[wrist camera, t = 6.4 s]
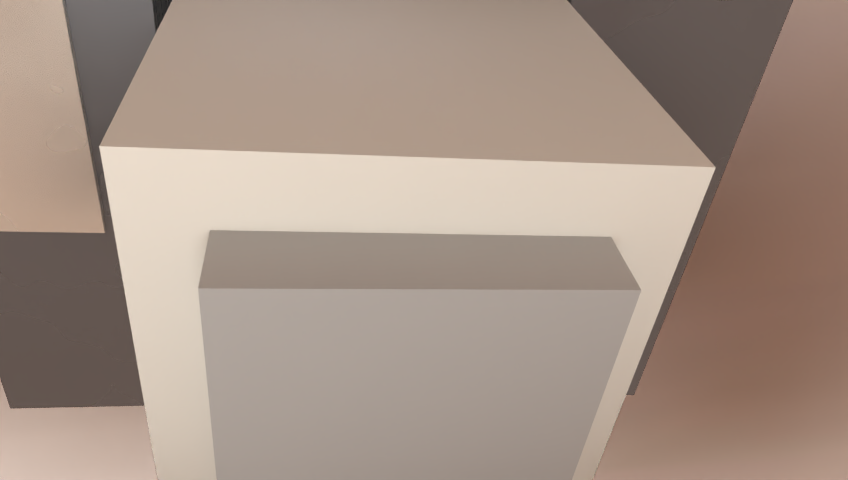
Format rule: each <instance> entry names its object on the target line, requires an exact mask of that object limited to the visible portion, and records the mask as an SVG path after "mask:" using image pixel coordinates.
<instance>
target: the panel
mask: <svg viewBox="0 0 848 480" xmlns="http://www.w3.org/2000/svg"><path fill="white" fill-rule="evenodd" d="M567 1H568V2H569V3H570V4H571V5H572V7H573V8H574V9H575V10H576V11H577V12H578V13H579V14H580V15H581V17H582V18H583V19H584V20H585V21H586V22H587V23H588V24H589V26H590V27H591V28H592V29H593V30H594V31H595V32H596V33H597V35H598V36H599V37H600V38H601V39H602V40H603V41H604V42H605V44H606V45H607V46H608V47H609V48H610V49H611V50H612V51H613V53H614V54H615V55H616V56H617V57H618V58H619V59H620V60H621V61H622V63H623V64H624V65H625V66H626V67H627V68H628V69H629V70H630V72H631V73H632V74H633V75H634V76H635V77H636V78H637V79H638V81H639V82H640V83H641V84H642V85H643V86H644V87H645V88H646V90H647V91H648V92H649V93H650V94H651V95H652V96H653V97H654V99H655V100H656V101H657V102H658V103H659V104H660V105H661V106H662V107H663V109H664V110H665V111H666V112H667V113H668V114H669V115H670V116H671V118H672V119H673V120H674V121H675V122H676V123H677V124H678V125H679V127H680V128H681V129H682V130H683V131H684V132H685V133H686V134H687V136H688V137H689V138H690V139H691V140H692V141H693V142H694V143H695V145H696V146H697V147H698V148H699V149H700V150H701V151H702V152H703V153H704V155H705V156H706V157H707V158H708V159H709V160H710V161H711V162H712V164H713V165H714V166H715V167H716V168H715V171H714V173H713V176H712V178H711V181H710V183H709V186H708V188H707V191H706V193H705V196H704V199H703V201H702V204H701V206H700V209H699V211H698V214H697V216H696V219H695V221H694V224H693V226H692V229H691V231H690V234H689V237H688V239H687V242H686V244H685V247H684V249H683V252H682V254H681V257H680V259H679V262H678V264H677V267H676V270H675V272H674V275H673V277H672V280H671V282H670V285H669V287H668V290H667V292H666V295H665V297H664V300H663V303H662V305H661V308H660V310H659V313H658V315H657V318H656V320H655V323H654V325H653V328H652V330H651V333H650V336H649V338H648V341H647V343H646V346H645V348H644V351H643V353H642V356H641V358H640V361H639V363H638V366H637V368H636V371H635V374H634V376H633V379H632V381H631V384H630V386H629V389H628V391H627V394H626V395H634V393H635V391H636V388H637V386H638V384H639V381H640V379H641V376H642V374H643V371H644V369H645V366H646V364H647V361H648V359H649V356H650V354H651V351H652V349H653V346H654V344H655V341H656V339H657V336H658V334H659V331H660V329H661V326H662V324H663V322H664V319H665V317H666V314H667V312H668V309H669V307H670V304H671V302H672V299H673V297H674V294H675V292H676V289H677V287H678V284H679V282H680V279H681V277H682V274H683V272H684V269H685V267H686V265H687V262H688V260H689V257H690V255H691V252H692V250H693V247H694V245H695V242H696V240H697V237H698V235H699V232H700V230H701V227H702V225H703V222H704V220H705V217H706V215H707V212H708V210H709V207H710V205H711V203H712V200H713V198H714V195H715V193H716V190H717V188H718V185H719V183H720V180H721V178H722V175H723V173H724V170H725V168H726V165H727V163H728V160H729V158H730V155H731V153H732V150H733V148H734V146H735V143H736V141H737V138H738V136H739V133H740V131H741V128H742V126H743V123H744V121H745V118H746V116H747V113H748V111H749V108H750V106H751V103H752V101H753V98H754V96H755V93H756V91H757V88H758V86H759V84H760V81H761V79H762V76H763V74H764V71H765V69H766V66H767V64H768V61H769V59H770V56H771V54H772V51H773V49H774V46H775V44H776V41H777V39H778V36H779V34H780V31H781V29H782V27H783V24H784V22H785V19H786V17H787V14H788V12H789V9H790V7H791V4H792V2H793V0H567ZM171 2H172V0H0V379H1V382H2V385H3V388H4V391H5V394H6V397H7V399H8V402H9V405H10V408H51V407H97V406H143V405H144V400H143V394H142V388H141V383H140V377H139V371H138V366H137V360H136V354H135V348H134V343H133V337H132V331H131V325H130V320H129V314H128V308H127V302H126V297H125V291H124V285H123V280H122V274H121V268H120V262H119V257H118V251H117V245H116V239H115V234H114V228H113V222H112V217H111V211H110V205H109V199H108V194H107V188H106V182H105V176H104V171H103V165H102V159H101V154H100V148H99V146H100V144H101V142H102V140H103V138H104V136H105V134H106V132H107V130H108V128H109V126H110V124H111V122H112V120H113V118H114V116H115V114H116V112H117V110H118V108H119V106H120V104H121V102H122V100H123V98H124V96H125V94H126V92H127V90H128V88H129V86H130V84H131V82H132V80H133V78H134V76H135V74H136V72H137V70H138V68H139V66H140V64H141V62H142V60H143V58H144V56H145V54H146V52H147V50H148V48H149V46H150V44H151V42H152V40H153V38H154V36H155V34H156V32H157V30H158V28H159V26H160V24H161V22H162V20H163V18H164V16H165V14H166V12H167V10H168V8H169V6H170V4H171Z"/></svg>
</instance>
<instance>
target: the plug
mask: <svg viewBox="0 0 848 480" xmlns="http://www.w3.org/2000/svg"><path fill="white" fill-rule="evenodd" d="M99 148H100V154H101V159H102V165H103V171H104V176H105V182H106V188H107V194H108V199H109V205H110V211H111V217H112V222H113V228H114V234H115V239H116V245H117V251H118V257H119V262H120V268H121V274H122V280H123V285H124V291H125V297H126V302H127V308H128V314H129V320H130V325H131V331H132V337H133V343H134V348H135V354H136V360H137V366H138V371H139V377H140V383H141V388H142V394H143V400H144V406H145V411H146V417H147V423H148V429H149V434H150V440H151V446H152V451H153V457H154V463H155V469H156V474H157V480H593V478H594V475H595V473H596V470H597V467H598V465H599V462H600V460H601V457H602V455H603V452H604V450H605V447H606V445H607V442H608V440H609V437H610V434H611V432H612V429H613V427H614V424H615V422H616V419H617V417H618V414H619V412H620V409H621V407H622V404H623V401H624V399H625V396H626V394H627V391H628V389H629V386H630V384H631V381H632V379H633V376H634V374H635V371H636V368H637V366H638V363H639V361H640V358H641V356H642V353H643V351H644V348H645V346H646V343H647V341H648V338H649V336H650V333H651V330H652V328H653V325H654V323H655V320H656V318H657V315H658V313H659V310H660V308H661V305H662V303H663V300H664V297H665V295H666V292H667V290H668V287H669V285H670V282H671V280H672V277H673V275H674V272H675V270H676V267H677V264H678V262H679V259H680V257H681V254H682V252H683V249H684V247H685V244H686V242H687V239H688V237H689V234H690V231H691V229H692V226H693V224H694V221H695V219H696V216H697V214H698V211H699V209H700V206H701V204H702V201H703V199H704V196H705V193H706V191H707V188H708V186H709V183H710V181H711V178H712V176H713V173H714V171H715V168H716V167H715V166H714V165H713V164H712V162H711V161H710V160H709V159H708V158H707V157H706V156H705V155H704V153H703V152H702V151H701V150H700V149H699V148H698V147H697V146H696V145H695V143H694V142H693V141H692V140H691V139H690V138H689V137H688V136H687V134H686V133H685V132H684V131H683V130H682V129H681V128H680V127H679V125H678V124H677V123H676V122H675V121H674V120H673V119H672V118H671V116H670V115H669V114H668V113H667V112H666V111H665V110H664V109H663V107H662V106H661V105H660V104H659V103H658V102H657V101H656V100H655V99H654V97H653V96H652V95H651V94H650V93H649V92H648V91H647V90H646V88H645V87H644V86H643V85H642V84H641V83H640V82H639V81H638V79H637V78H636V77H635V76H634V75H633V74H632V73H631V72H630V70H629V69H628V68H627V67H626V66H625V65H624V64H623V63H622V61H621V60H620V59H619V58H618V57H617V56H616V55H615V54H614V53H613V51H612V50H611V49H610V48H609V47H608V46H607V45H606V44H605V42H604V41H603V40H602V39H601V38H600V37H599V36H598V35H597V33H596V32H595V31H594V30H593V29H592V28H591V27H590V26H589V24H588V23H587V22H586V21H585V20H584V19H583V18H582V17H581V15H580V14H579V13H578V12H577V11H576V10H575V9H574V8H573V7H572V5H571V4H570V3H569V2H568V1H567V0H172V2H171V4H170V6H169V8H168V10H167V12H166V14H165V16H164V18H163V20H162V22H161V24H160V26H159V28H158V30H157V32H156V34H155V36H154V38H153V40H152V42H151V44H150V46H149V48H148V50H147V52H146V54H145V56H144V58H143V60H142V62H141V64H140V66H139V68H138V70H137V72H136V74H135V76H134V78H133V80H132V82H131V84H130V86H129V88H128V90H127V92H126V94H125V96H124V98H123V100H122V102H121V104H120V106H119V108H118V110H117V112H116V114H115V116H114V118H113V120H112V122H111V124H110V126H109V128H108V130H107V132H106V134H105V136H104V138H103V140H102V142H101V144H100V146H99Z"/></svg>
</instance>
